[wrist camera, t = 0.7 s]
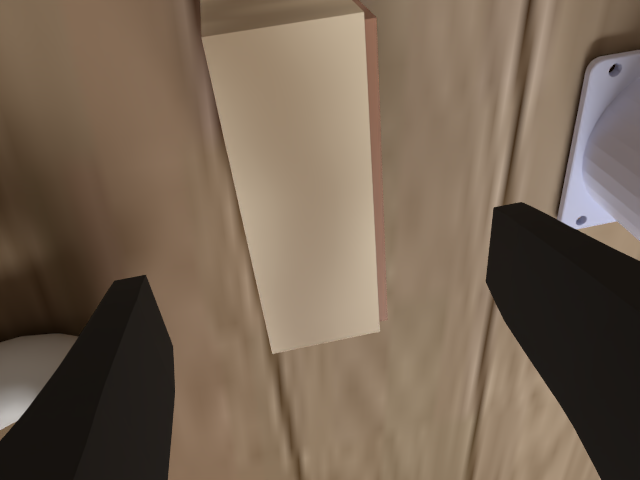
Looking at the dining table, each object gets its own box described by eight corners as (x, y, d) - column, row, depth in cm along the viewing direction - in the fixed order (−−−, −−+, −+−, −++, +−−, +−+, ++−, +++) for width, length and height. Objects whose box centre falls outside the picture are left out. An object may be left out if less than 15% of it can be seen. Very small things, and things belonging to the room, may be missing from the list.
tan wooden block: (310, -53, 17) (378, 9, 11) (334, 191, 23) (389, 329, 16) (198, -37, 17) (201, 37, 11) (250, 207, 22) (272, 353, 16)
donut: (140, 294, 24) (113, 523, 16) (161, 349, 26) (146, 575, 18) (-104, 341, 23) (-264, 609, 15) (-62, 393, 25) (-183, 653, 17)
